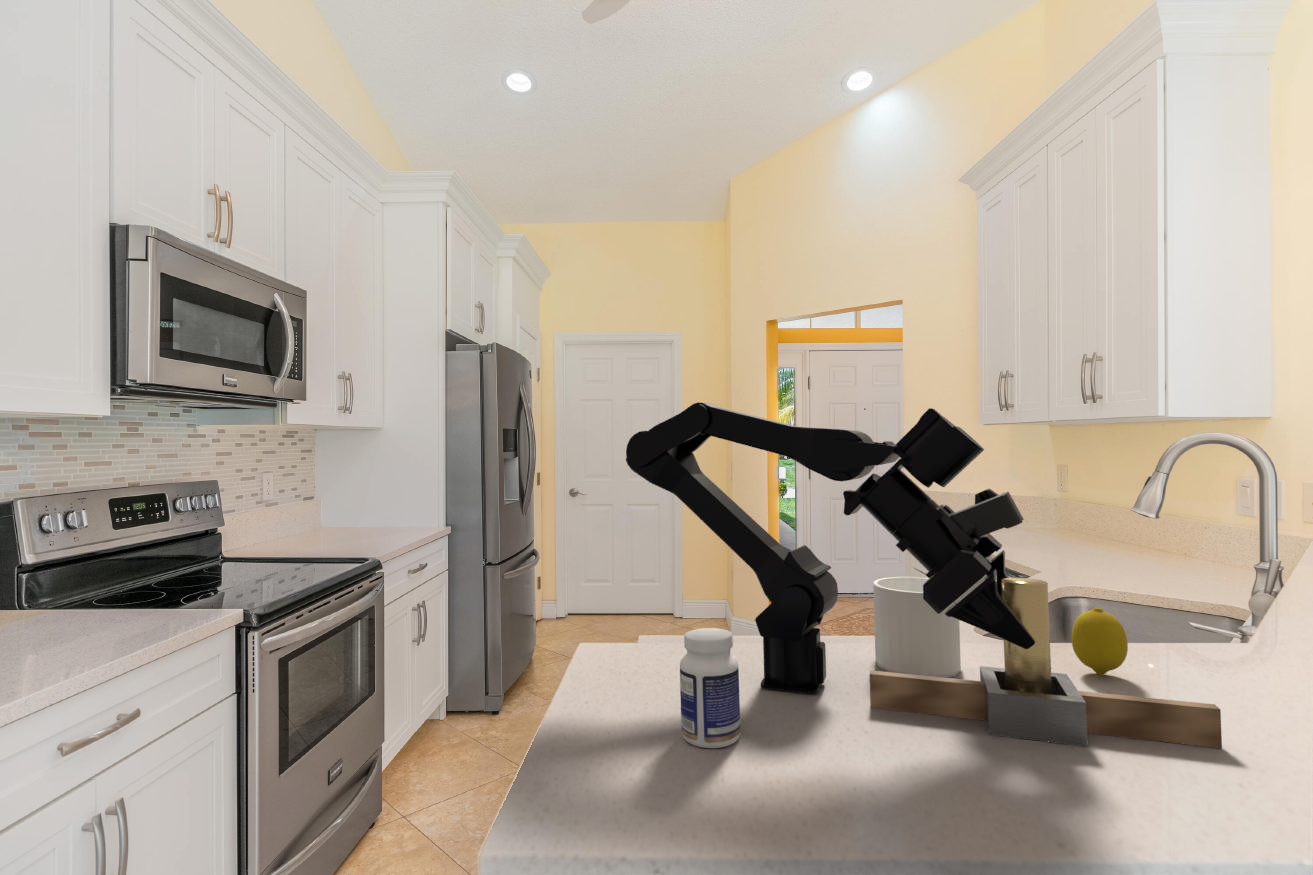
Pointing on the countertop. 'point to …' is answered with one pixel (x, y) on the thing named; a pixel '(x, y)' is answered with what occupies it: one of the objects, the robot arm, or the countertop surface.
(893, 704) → the hinge leaves
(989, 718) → the gray square planter
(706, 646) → the pill bottle
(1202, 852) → the countertop surface
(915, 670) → the mug
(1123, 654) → the lemon
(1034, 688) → the hinge pin
